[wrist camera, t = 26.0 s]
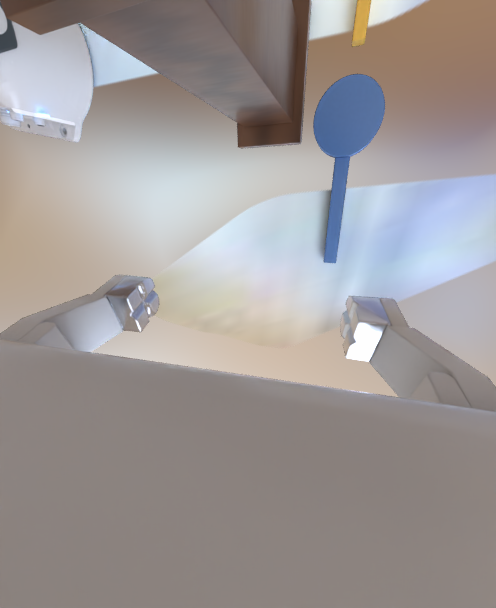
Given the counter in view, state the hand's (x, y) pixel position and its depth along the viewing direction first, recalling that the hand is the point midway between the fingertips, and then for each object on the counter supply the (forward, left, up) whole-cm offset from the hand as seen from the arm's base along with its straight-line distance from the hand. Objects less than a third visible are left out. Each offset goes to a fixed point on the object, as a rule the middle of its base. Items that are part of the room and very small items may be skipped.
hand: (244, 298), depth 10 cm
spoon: (+3, +4, -27) cm, 27 cm away
